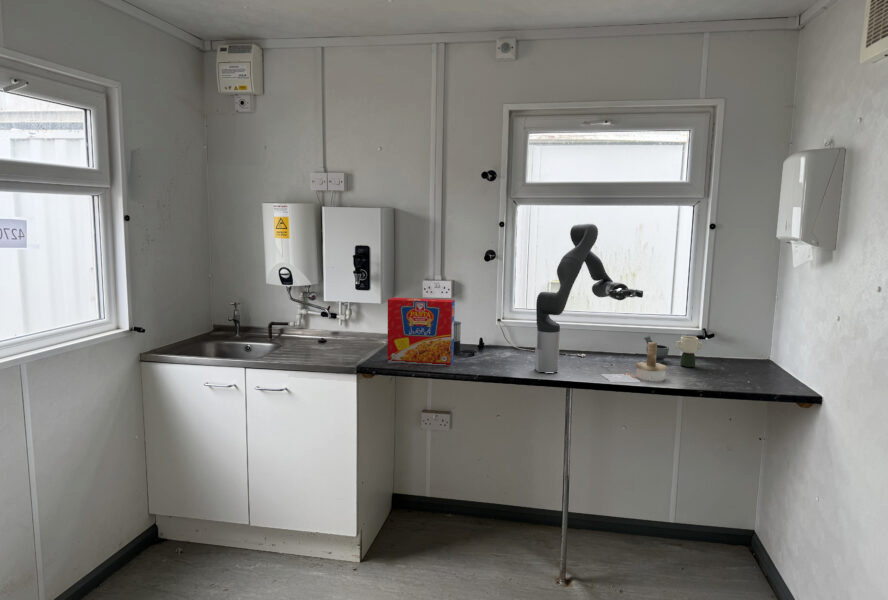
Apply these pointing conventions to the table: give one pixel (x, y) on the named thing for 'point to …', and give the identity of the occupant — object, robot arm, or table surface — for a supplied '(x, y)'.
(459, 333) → the milk frother
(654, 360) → the paper towel holder
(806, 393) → the table surface
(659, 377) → the bowl
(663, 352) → the mortar and pestle
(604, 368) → the table surface
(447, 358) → the pasta box
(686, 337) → the character mug
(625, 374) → the mat
